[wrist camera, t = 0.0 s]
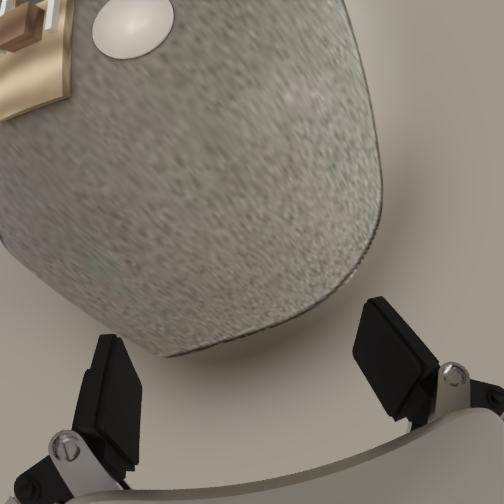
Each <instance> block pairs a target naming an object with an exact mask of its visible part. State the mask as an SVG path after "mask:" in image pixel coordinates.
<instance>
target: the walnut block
mask: <svg viewBox="0 0 504 504" xmlns="http://www.w3.org/2000/svg"><path fill="white" fill-rule="evenodd" d="M44 13H45V10H43V9H41V8H40V7H38V6H36V5H35V4H33V3H31V2H29V1H28V2H26V3H24V4H22V5H20V6H18V7H16V8H14V9H12V10H11V11H9V12H7V13H5V14H3V15H2V16H0V50H4V51H9V52H13V53H14V52H16V51H18V50H20V49H22V48H25V47H27V46H29V45H31V44H33V43H36V42H38V41H40V40H42V30H43V21H44Z"/></svg>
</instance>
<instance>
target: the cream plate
mask: <svg viewBox="0 0 504 504" xmlns="http://www.w3.org/2000/svg"><path fill="white" fill-rule="evenodd" d="M173 21H174V13H173V8H172V5H171V3H170V2H169V0H110V1H109V2H108V3H107V4H106V5H105V6H104V7H103V8H102V9H101V11H100V12H99V13H98V15H97V17H96V19H95V21H94V25H93V31H92V32H93V40H94V43H95V45H96V46H97V48H98V49H99V50H100V51H101V52H103V53H104V54H106V55H107V56H109V57H112V58H116V59H133V58H137V57H140V56H143V55H145V54H147V53H149V52H151V51H152V50H154V49H155V48H157V47H158V46H159V45H160V44H161V43H162V42H163V41H164V40H165V39H166V37H167V36H168V34H169V32H170V31H171V28H172V25H173Z"/></svg>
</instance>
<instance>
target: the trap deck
mask: <svg viewBox="0 0 504 504" xmlns="http://www.w3.org/2000/svg"><path fill="white" fill-rule="evenodd" d="M28 1H29V2H31V3H33V4H35V5H36V6H38V7H40V8H41V9H43V10H45V13H44V21H43V30H42V40H40V41H38V42H36V43H33V44H31V45H29V46H27V47H25V48H22V49H20V50H18V51H16V52H14V53H13V52H9V51H4V50H0V121H4V120H8V119H11V118H13V117H16V116H18V115H21V114H23V113H26V112H28V111H31V110H34V109H36V108H39V107H42V106H45V105H48V104H51V103H54V102H57V101H60V100H63V99H67V98H70V97H71V42H72V26H73V14H74V5H75V0H2V4H1V9H0V16H2V15H3V14H5V13H7V12H9V11H11V10H12V9H14V8H16V7H18V6H20V5H22V4H24V3H26V2H28Z"/></svg>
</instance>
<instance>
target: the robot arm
mask: <svg viewBox="0 0 504 504" xmlns="http://www.w3.org/2000/svg"><path fill="white" fill-rule="evenodd" d="M352 352H353V357H354V359H355V361H356V362H357V364H358V365H359V367H360V369H361V370H362V372H363V374H364V375H365V377H366V379H367V380H368V382H369V384H370V385H371V387H372V389H373V390H374V392H375V393H376V395H377V397H378V399H379V401H380V402H381V404H382V406H383V407H384V409H385V411H386V412H387V414H388V415H389V416H390V417H393V419H394V420H395V422H396V421H398V420H400V419H403V418H405V417H407V419H408V420H409V423H408V427H407V431H406V434H405V435H403V436H401V437H398V438H396V439H394V440H392V441H390V442H387V443H385V444H383V445H380V446H378V447H375V448H373V449H370V450H368V451H365V452H363V453H360V454H357V455H354V456H352V457H349V458H346V459H343V460H340V461H337V462H334V463H331V464H327V465H324V466H321V467H317V468H314V469H310V470H307V471H303V472H299V473H295V474H291V475H286V476H282V477H277V478H272V479H267V480H262V481H256V482H250V483H244V484H237V485H229V486H221V487H210V488H198V489H178V490H134V489H133V488H132V487H131V486H130V485H129V484H128V483H127V481H126V480H125V478H126V471H135V465H138V463H139V439H140V416H141V401H142V385H141V382H140V380H139V377H138V375H137V373H136V371H135V369H134V367H133V365H132V362H131V360H130V357H129V355H128V353H127V350H126V348H125V346H124V344H123V341H122V339H121V338H120V337H119V338H117V336H116V335H115V334H104V335H100V337H99V339H98V343H97V346H96V350H95V353H94V357H93V360H92V364H91V368H90V369H87V370H86V372H85V374H84V377H83V381H82V385H81V390H80V394H79V397H78V401H77V406H76V410H75V415H74V420H73V424H72V430H62V431H60V432H58V433H56V434H55V435H54V436H53V437H52V439H51V440H50V443H49V455H48V456H47V457H45V458H44V459H42V460H41V461H40V462H38V463H37V464H35V465H34V466H32V467H31V468H30V469H28V470H27V471H25V472H24V473H22V474H21V475H20V476H19V477H18V478H17V479H16V481H15V484H14V492H15V496H14V497H12V496H10V497H9V499H8V500H7V502H6V503H5V504H504V389H503V388H501V387H499V386H496V385H492V384H488V383H484V382H480V381H476V380H472V379H470V377H469V373H468V371H467V370H466V369H465V368H464V367H463V366H462V365H460V364H458V363H455V362H447V363H445V364H443V365H442V366H441V367H440V365H439V364H438V363H439V361H438V360H437V358H436V357H435V356H434V355H433V354H432V352H431V351H430V350H429V349H428V348H427V347H426V345H425V344H424V343H423V342H422V341H421V339H420V338H419V337H418V336H417V335H416V333H415V332H414V331H413V330H412V329H411V328H410V327H409V325H408V324H407V323H406V322H405V321H404V320H403V319H402V318H401V316H400V315H399V314H398V313H397V312H396V311H395V309H394V308H392V306H391V305H390V304H389V303H388V302H387V301H386V300H385V298H383V297H382V296H380V297H375V298H370V299H368V300H367V303H365V304H364V306H363V311H362V315H361V319H360V323H359V327H358V331H357V335H356V339H355V343H354V346H353V350H352Z"/></svg>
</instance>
